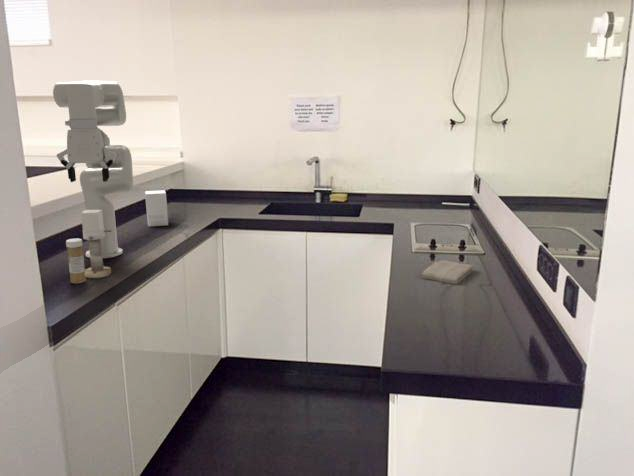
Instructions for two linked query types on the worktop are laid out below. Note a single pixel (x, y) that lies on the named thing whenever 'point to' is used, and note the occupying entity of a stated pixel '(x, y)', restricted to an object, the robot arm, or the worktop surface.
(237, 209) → the worktop surface
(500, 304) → the worktop surface
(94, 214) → the coupling cap
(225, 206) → the worktop surface
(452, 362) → the worktop surface
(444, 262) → the washcloth
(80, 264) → the sprinkles bottle
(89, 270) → the post base
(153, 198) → the supplement box
